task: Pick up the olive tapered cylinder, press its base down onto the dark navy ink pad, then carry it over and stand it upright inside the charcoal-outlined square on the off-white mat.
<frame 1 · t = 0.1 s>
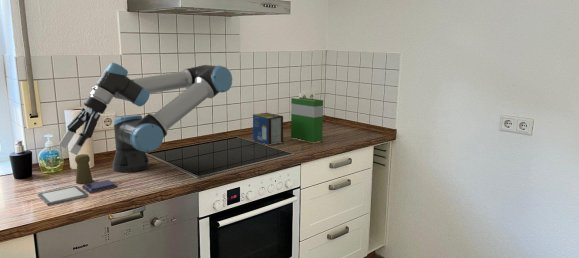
hand: (67, 150, 153), 15 cm above the worktop, tool tilted 35°, fingers open, 13 cm apart
ink pad: (99, 187, 159), on the worktop
marked mat: (63, 195, 149), on the worktop
olive tapered cylinder: (84, 182, 165), on the worktop
protein box: (267, 142, 236), on the worktop
green canister: (306, 140, 241), on the worktop
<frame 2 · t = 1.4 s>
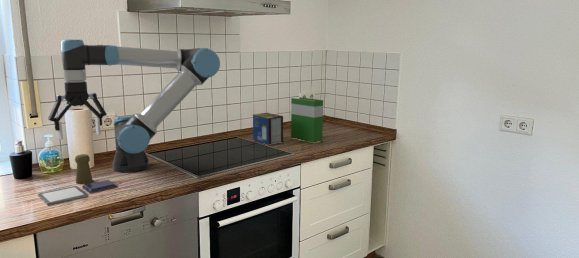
hand: (80, 136, 161), 18 cm above the worktop, tool pointing down, fingers open, 13 cm apart
nothing on the worktop moved.
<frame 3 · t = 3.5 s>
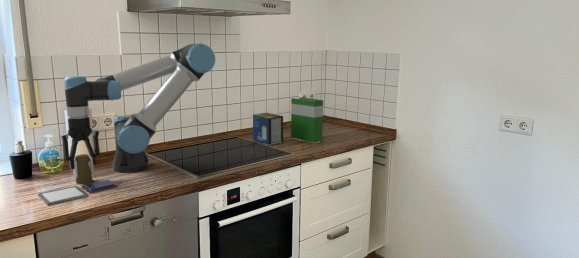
hand: (83, 174, 164), 3 cm above the worktop, tool pointing down, fingers closed on olive tapered cylinder, 5 cm apart
olive tapered cylinder: (84, 182, 165), on the worktop, touching gripper
everything else where it was.
when the fingers open (5 cm above the worktop, at t = 12.2 s): olive tapered cylinder drops 2 cm, resting on marked mat.
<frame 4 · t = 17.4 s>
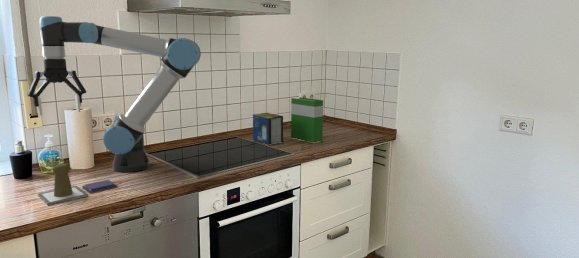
hand: (59, 113, 163), 27 cm above the worktop, tool pointing down, fingers open, 13 cm apart
olive tapered cylinder: (63, 194, 149), resting on marked mat
everything else where it was.
at the end: olive tapered cylinder inside the target area on the marked mat (0.2 cm from its centre), point 0.4 cm above the marked mat's base; olive tapered cylinder tilted 0°; the gripper is holding nothing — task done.
